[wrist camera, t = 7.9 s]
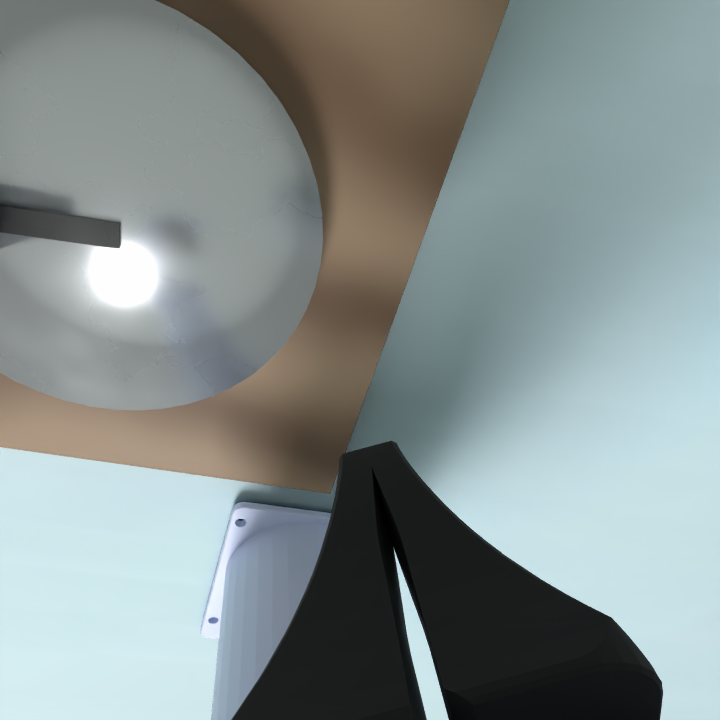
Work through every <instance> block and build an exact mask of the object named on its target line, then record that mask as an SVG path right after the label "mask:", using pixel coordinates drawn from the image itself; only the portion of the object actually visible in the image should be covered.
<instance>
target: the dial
mask: <svg viewBox="0 0 720 720" xmlns="http://www.w3.org/2000/svg"><path fill="white" fill-rule="evenodd" d="M322 245H323V223H322V209H321V203H320V197H319V191H318V185H317V182H316V179H315V175H314V172H313V169H312V165H311V162H310V159H309V156H308V154H307V152H306V149H305V147H304V145H303V143H302V140H301V138H300V136H299V133H298V131H297V129H296V127H295V125H294V123H293V122H292V120H291V118H290V117H289V115H288V113H287V111H286V110H285V108H284V106H283V105H282V103H281V101H280V100H279V99H278V97H277V96H276V95H275V94H274V92H273V91H272V90H271V88H270V87H269V86H268V84H267V83H266V82H265V80H264V79H263V78H262V77H261V76H260V75H259V74H258V73H257V71H256V70H255V69H254V68H253V67H252V66H251V65H250V64H249V63H248V62H247V61H246V60H245V59H244V58H243V57H242V56H241V55H240V54H239V53H238V52H236V51H235V50H234V49H233V48H231V47H230V46H229V45H228V44H226V43H225V42H224V41H223V40H222V39H220V38H219V37H218V36H217V35H215V34H214V33H213V32H211V31H210V30H208V29H207V28H205V27H203V26H202V25H200V24H199V23H197V22H195V21H194V20H192V19H191V18H189V17H187V16H186V15H184V14H182V13H181V12H179V11H177V10H175V9H173V8H171V7H169V6H166V5H164V4H162V3H160V2H158V1H156V0H0V373H2V374H3V375H5V376H7V377H9V378H10V379H12V380H14V381H16V382H18V383H20V384H23V385H25V386H27V387H29V388H32V389H34V390H36V391H38V392H41V393H44V394H47V395H50V396H53V397H56V398H59V399H62V400H64V401H69V402H73V403H77V404H82V405H86V406H90V407H98V408H106V409H113V410H153V409H165V408H170V407H175V406H181V405H186V404H190V403H193V402H196V401H200V400H203V399H206V398H209V397H212V396H214V395H216V394H218V393H221V392H223V391H225V390H227V389H230V388H231V387H233V386H235V385H236V384H238V383H240V382H242V381H243V380H245V379H247V378H248V377H250V376H251V375H252V374H254V373H255V372H256V371H257V370H259V369H260V368H261V367H262V366H264V365H265V364H266V363H267V362H268V361H269V360H270V359H271V358H272V357H273V356H274V355H275V354H276V353H277V352H278V351H279V350H280V349H281V348H282V347H283V346H284V344H285V343H286V342H287V340H288V339H289V338H290V336H291V335H292V334H293V332H294V331H295V330H296V328H297V326H298V324H299V322H300V321H301V319H302V317H303V315H304V313H305V312H306V310H307V307H308V305H309V302H310V299H311V297H312V294H313V292H314V289H315V286H316V282H317V277H318V273H319V269H320V265H321V255H322Z"/></svg>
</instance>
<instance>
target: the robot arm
mask: <svg viewBox="0 0 720 720" xmlns="http://www.w3.org/2000/svg"><path fill="white" fill-rule="evenodd" d="M238 519H244V520H243V521H239V520H238ZM393 547H394V548H393ZM394 550H395V552H396V555H397V558H398V561H399V563H400V566H401V569H402V572H403V574H404V577H405V580H406V583H407V585H408V588H409V591H410V594H411V596H412V599H413V602H414V605H415V607H416V610H417V613H418V616H419V618H420V621H421V624H422V627H423V629H424V632H425V635H426V639H427V642H428V645H429V648H430V651H431V655H432V659H433V663H434V666H435V670H436V674H437V677H438V681H439V685H440V688H441V692H442V696H443V699H444V703H445V707H446V711H447V714H448V718H449V720H660V714H661V706H662V697H663V689H662V682H661V680H660V679H659V677H658V676H657V674H656V672H655V670H654V668H653V667H652V665H651V664H650V662H649V661H648V660H647V658H646V657H645V656H644V655H643V653H642V652H641V651H640V650H639V648H638V647H637V646H636V645H635V643H634V642H633V641H632V640H631V639H630V637H629V636H628V635H627V634H626V633H625V632H624V631H623V630H622V628H621V627H620V626H619V625H618V624H617V623H616V622H615V621H614V620H613V619H612V618H611V617H609V616H607V615H605V614H603V613H601V612H599V611H597V610H595V609H593V608H591V607H589V606H587V605H585V604H583V603H582V602H580V601H578V600H576V599H574V598H572V597H570V596H569V595H567V594H565V593H563V592H562V591H560V590H558V589H556V588H555V587H553V586H551V585H550V584H548V583H546V582H545V581H543V580H541V579H540V578H538V577H537V576H535V575H534V574H532V573H531V572H529V571H528V570H526V569H525V568H523V567H522V566H520V565H519V564H517V563H515V562H514V561H512V560H511V559H509V558H508V557H507V556H505V555H504V554H502V553H501V552H500V551H498V550H497V549H496V548H494V547H493V546H492V545H491V544H489V543H488V542H487V541H485V540H484V539H483V538H482V537H480V536H479V535H478V534H477V533H476V532H474V531H473V530H472V529H471V528H470V527H469V526H467V525H466V524H465V523H464V522H463V521H462V520H461V519H460V518H458V517H457V516H456V515H455V514H454V513H453V512H452V511H451V510H450V509H449V508H448V507H447V506H446V505H445V504H444V503H443V502H442V501H441V500H440V499H439V498H438V497H437V496H436V495H435V494H434V492H433V491H432V490H431V489H430V488H429V487H428V486H427V485H426V484H425V482H424V481H423V480H422V479H421V478H420V477H419V475H418V474H417V473H416V472H415V470H414V469H413V468H412V467H411V465H410V464H409V463H408V461H407V460H406V458H405V457H404V455H403V454H402V452H401V451H400V449H399V447H398V445H397V443H395V442H393V441H389V442H385V443H381V444H378V445H374V446H370V447H366V448H363V449H359V450H355V451H351V452H348V453H344V454H342V455H341V457H340V458H339V474H338V481H337V488H336V493H335V499H334V503H333V507H332V512H331V513H326V512H318V511H311V510H303V509H296V508H288V507H280V506H273V505H265V504H258V503H250V502H240V503H237V504H236V505H234V507H233V509H232V513H231V516H230V520H229V524H228V528H227V531H226V535H225V539H224V542H223V546H222V550H221V554H220V557H219V561H218V565H217V569H216V572H215V576H214V580H213V584H212V587H211V591H210V595H209V599H208V602H207V606H206V610H205V613H204V617H203V621H202V625H201V631H200V633H201V635H202V636H203V637H205V638H213V639H219V642H218V653H217V663H216V674H215V684H214V695H213V705H212V716H211V720H427V719H426V715H425V711H424V707H423V703H422V699H421V694H420V690H419V686H418V682H417V678H416V674H415V670H414V666H413V662H412V657H411V653H410V648H409V643H408V638H407V632H406V626H405V619H404V613H403V606H402V600H401V593H400V587H399V580H398V574H397V567H396V561H395V554H394Z"/></svg>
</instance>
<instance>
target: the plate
mask: <svg viewBox="0 0 720 720" xmlns="http://www.w3.org/2000/svg"><path fill="white" fill-rule="evenodd" d="M156 1H158V2H160V3H162V4H164V5H166V6H169V7H171V8H173V9H175V10H177V11H179V12H181V13H182V14H184V15H186V16H187V17H189V18H191V19H192V20H194V21H195V22H197V23H199V24H200V25H202V26H203V27H205V28H207V29H208V30H210V31H211V32H213V33H214V34H215V35H217V36H218V37H219V38H220V39H222V40H223V41H224V42H225V43H226V44H228V45H229V46H230V47H231V48H233V49H234V50H235V51H236V52H238V53H239V54H240V55H241V56H242V57H243V58H244V59H245V60H246V61H247V62H248V63H249V64H250V65H251V66H252V67H253V68H254V69H255V70H256V71H257V73H258V74H259V75H260V76H261V77H262V78H263V79H264V80H265V82H266V83H267V84H268V86H269V87H270V88H271V90H272V91H273V92H274V94H275V95H276V96H277V97H278V99H279V100H280V101H281V103H282V105H283V106H284V108H285V110H286V111H287V113H288V115H289V117H290V118H291V120H292V122H293V123H294V125H295V127H296V129H297V131H298V133H299V136H300V138H301V140H302V143H303V145H304V147H305V149H306V152H307V154H308V156H309V159H310V162H311V165H312V169H313V172H314V175H315V179H316V182H317V185H318V191H319V197H320V203H321V209H322V223H323V245H322V255H321V265H320V269H319V273H318V277H317V282H316V286H315V289H314V292H313V294H312V297H311V299H310V302H309V305H308V307H307V310H306V312H305V313H304V315H303V317H302V319H301V321H300V322H299V324H298V326H297V328H296V330H295V331H294V332H293V334H292V335H291V336H290V338H289V339H288V340H287V342H286V343H285V344H284V346H283V347H282V348H281V349H280V350H279V351H278V352H277V353H276V354H275V355H274V356H273V357H272V358H271V359H270V360H269V361H268V362H267V363H266V364H265V365H264V366H262V367H261V368H260V369H259V370H257V371H256V372H255V373H254V374H252V375H251V376H250V377H248V378H247V379H245V380H243V381H242V382H240V383H238V384H236V385H235V386H233V387H231V388H230V389H227V390H225V391H223V392H221V393H218V394H216V395H214V396H212V397H209V398H206V399H203V400H200V401H196V402H193V403H190V404H186V405H181V406H175V407H170V408H165V409H153V410H113V409H106V408H98V407H90V406H86V405H82V404H77V403H73V402H69V401H64V400H62V399H59V398H56V397H53V396H50V395H47V394H44V393H41V392H38V391H36V390H34V389H32V388H29V387H27V386H25V385H23V384H20V383H18V382H16V381H14V380H12V379H10V378H9V377H7V376H5V375H3V374H2V373H0V447H4V448H11V449H18V450H25V451H32V452H39V453H46V454H53V455H60V456H67V457H74V458H82V459H89V460H96V461H103V462H110V463H117V464H124V465H131V466H138V467H145V468H152V469H159V470H166V471H173V472H181V473H188V474H195V475H202V476H209V477H216V478H223V479H230V480H237V481H244V482H251V483H258V484H265V485H272V486H279V487H287V488H294V489H301V490H308V491H315V492H322V493H329V494H330V493H331V490H332V487H333V485H334V482H335V479H336V476H337V474H338V471H339V458H340V457H341V455H342V454H344V453H345V451H346V449H347V446H348V443H349V440H350V438H351V435H352V432H353V429H354V427H355V424H356V421H357V418H358V416H359V413H360V410H361V407H362V405H363V402H364V399H365V396H366V394H367V391H368V388H369V385H370V383H371V380H372V377H373V374H374V372H375V369H376V366H377V363H378V361H379V358H380V355H381V352H382V350H383V347H384V344H385V341H386V339H387V336H388V333H389V330H390V328H391V325H392V322H393V319H394V317H395V314H396V311H397V308H398V306H399V303H400V300H401V297H402V295H403V292H404V289H405V286H406V284H407V281H408V278H409V275H410V273H411V270H412V267H413V264H414V262H415V259H416V256H417V253H418V251H419V248H420V245H421V242H422V240H423V237H424V234H425V231H426V229H427V226H428V223H429V220H430V218H431V215H432V212H433V209H434V207H435V204H436V201H437V198H438V196H439V193H440V190H441V187H442V185H443V182H444V179H445V176H446V174H447V171H448V168H449V165H450V163H451V160H452V157H453V154H454V152H455V149H456V146H457V143H458V141H459V138H460V135H461V132H462V130H463V127H464V124H465V121H466V119H467V116H468V113H469V110H470V108H471V105H472V102H473V99H474V97H475V94H476V91H477V88H478V85H479V83H480V80H481V77H482V74H483V72H484V69H485V66H486V63H487V61H488V58H489V55H490V52H491V50H492V47H493V44H494V41H495V39H496V36H497V33H498V30H499V28H500V25H501V22H502V19H503V17H504V14H505V11H506V8H507V6H508V3H509V0H156Z"/></svg>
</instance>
